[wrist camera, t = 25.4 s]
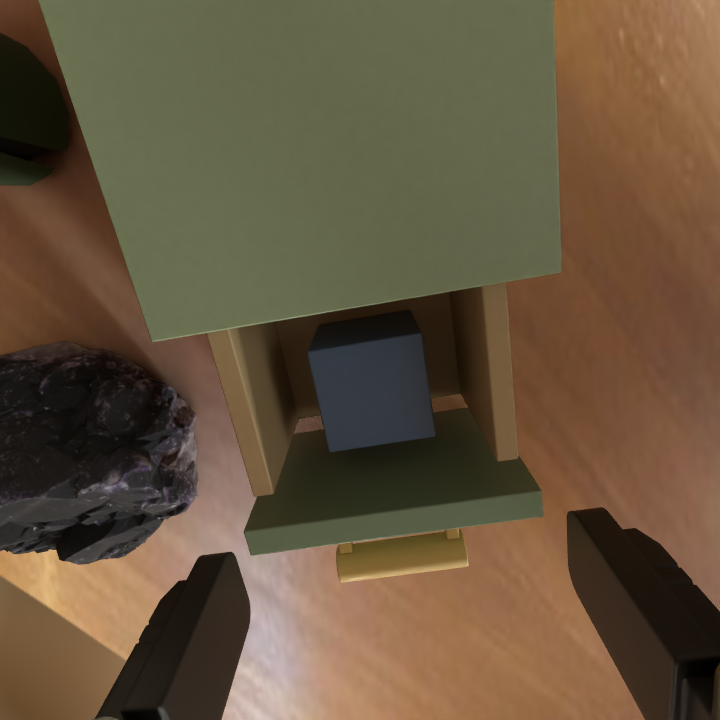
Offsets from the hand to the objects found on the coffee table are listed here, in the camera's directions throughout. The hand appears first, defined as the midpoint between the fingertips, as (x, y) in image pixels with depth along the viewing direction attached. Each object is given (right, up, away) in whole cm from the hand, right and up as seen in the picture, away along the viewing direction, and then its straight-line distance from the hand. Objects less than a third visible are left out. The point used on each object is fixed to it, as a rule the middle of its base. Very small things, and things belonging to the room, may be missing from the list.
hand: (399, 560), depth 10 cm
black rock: (-16, 0, +15) cm, 22 cm away
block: (0, +5, +11) cm, 12 cm away
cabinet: (-2, +16, +10) cm, 19 cm away
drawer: (0, +5, +12) cm, 13 cm away
